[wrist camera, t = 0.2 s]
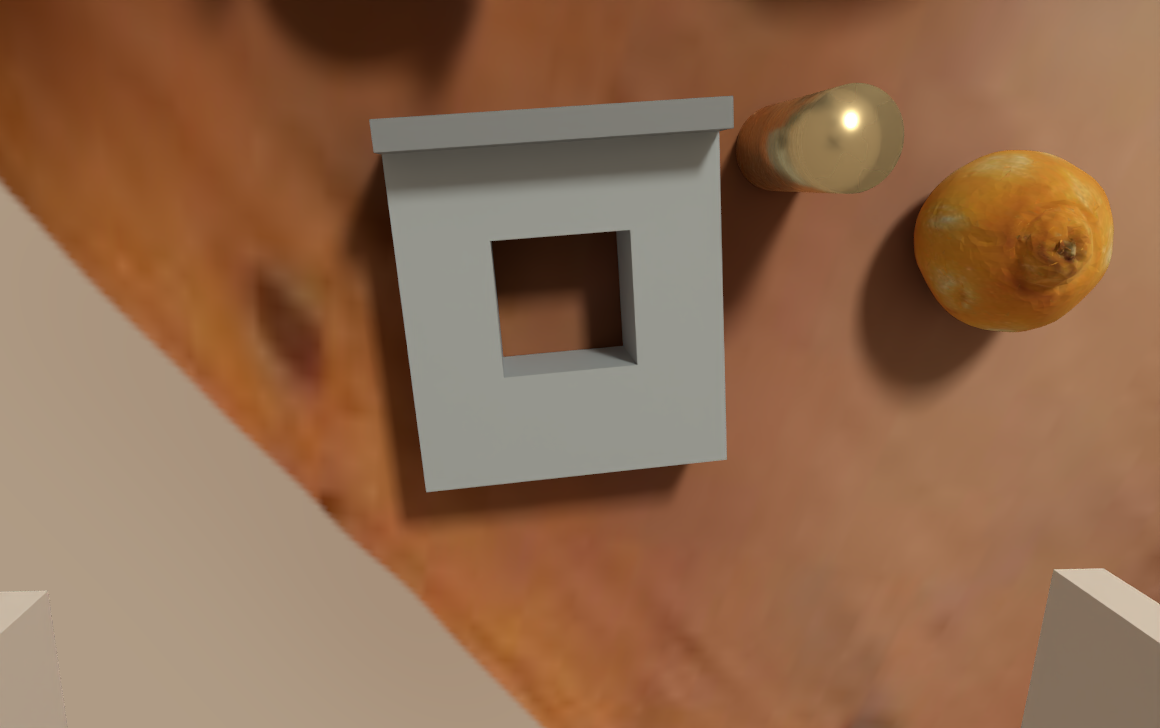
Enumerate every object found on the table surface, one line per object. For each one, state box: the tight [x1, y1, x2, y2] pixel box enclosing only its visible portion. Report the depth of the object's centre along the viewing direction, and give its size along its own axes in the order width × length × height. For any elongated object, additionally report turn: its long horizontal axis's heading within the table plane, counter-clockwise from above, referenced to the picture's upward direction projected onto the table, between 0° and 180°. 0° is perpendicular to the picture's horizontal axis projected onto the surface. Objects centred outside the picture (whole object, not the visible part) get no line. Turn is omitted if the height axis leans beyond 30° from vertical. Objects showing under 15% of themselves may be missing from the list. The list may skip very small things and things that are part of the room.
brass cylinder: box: [736, 83, 904, 194], centre depth 32 cm, size 4×4×8 cm
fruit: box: [914, 150, 1114, 332], centre depth 35 cm, size 8×8×8 cm
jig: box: [369, 96, 734, 492], centre depth 33 cm, size 16×14×6 cm
